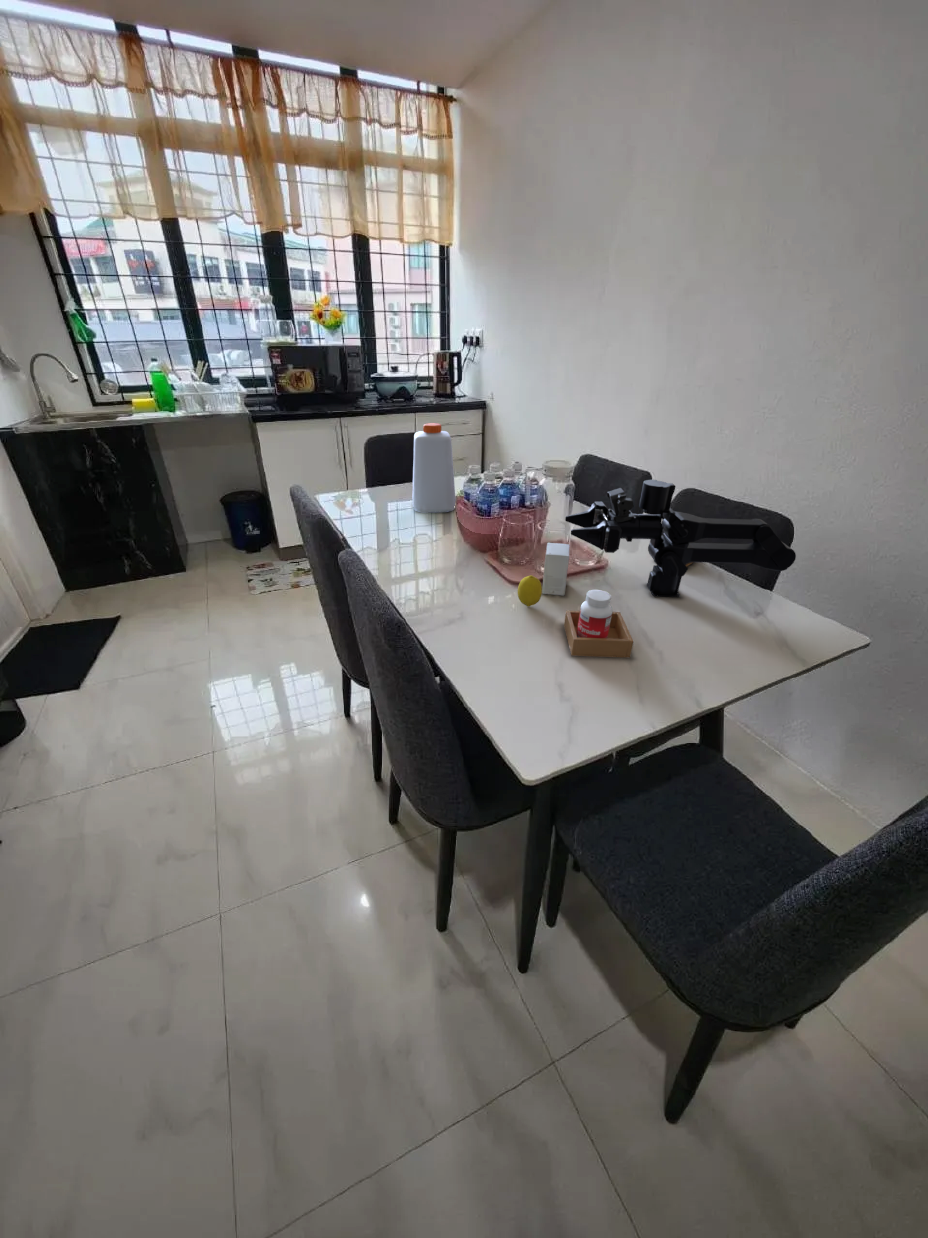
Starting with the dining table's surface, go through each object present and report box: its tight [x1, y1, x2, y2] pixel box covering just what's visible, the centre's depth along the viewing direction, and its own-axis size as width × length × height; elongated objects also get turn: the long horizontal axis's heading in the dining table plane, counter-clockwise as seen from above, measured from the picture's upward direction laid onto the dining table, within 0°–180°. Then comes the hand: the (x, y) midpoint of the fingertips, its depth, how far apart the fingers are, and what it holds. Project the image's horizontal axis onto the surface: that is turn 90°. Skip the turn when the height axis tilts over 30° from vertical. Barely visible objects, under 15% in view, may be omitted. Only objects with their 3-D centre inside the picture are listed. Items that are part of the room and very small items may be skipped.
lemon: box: [517, 574, 543, 608], centre depth 115 cm, size 6×6×8 cm
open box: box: [563, 609, 635, 659], centre depth 104 cm, size 12×12×4 cm
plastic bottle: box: [411, 422, 456, 514], centre depth 173 cm, size 15×15×28 cm
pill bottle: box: [576, 589, 613, 638], centre depth 101 cm, size 6×6×11 cm
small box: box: [542, 542, 571, 596], centre depth 123 cm, size 8×6×10 cm
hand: (568, 525), depth 117 cm, fingers open, 9 cm apart
